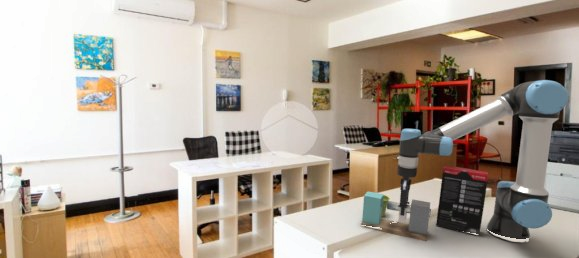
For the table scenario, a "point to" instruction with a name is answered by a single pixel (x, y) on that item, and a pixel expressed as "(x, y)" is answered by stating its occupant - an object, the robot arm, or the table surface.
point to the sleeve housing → (419, 217)
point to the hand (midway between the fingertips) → (402, 220)
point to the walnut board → (396, 229)
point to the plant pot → (384, 204)
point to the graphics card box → (462, 199)
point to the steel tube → (395, 207)
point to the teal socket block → (372, 208)
